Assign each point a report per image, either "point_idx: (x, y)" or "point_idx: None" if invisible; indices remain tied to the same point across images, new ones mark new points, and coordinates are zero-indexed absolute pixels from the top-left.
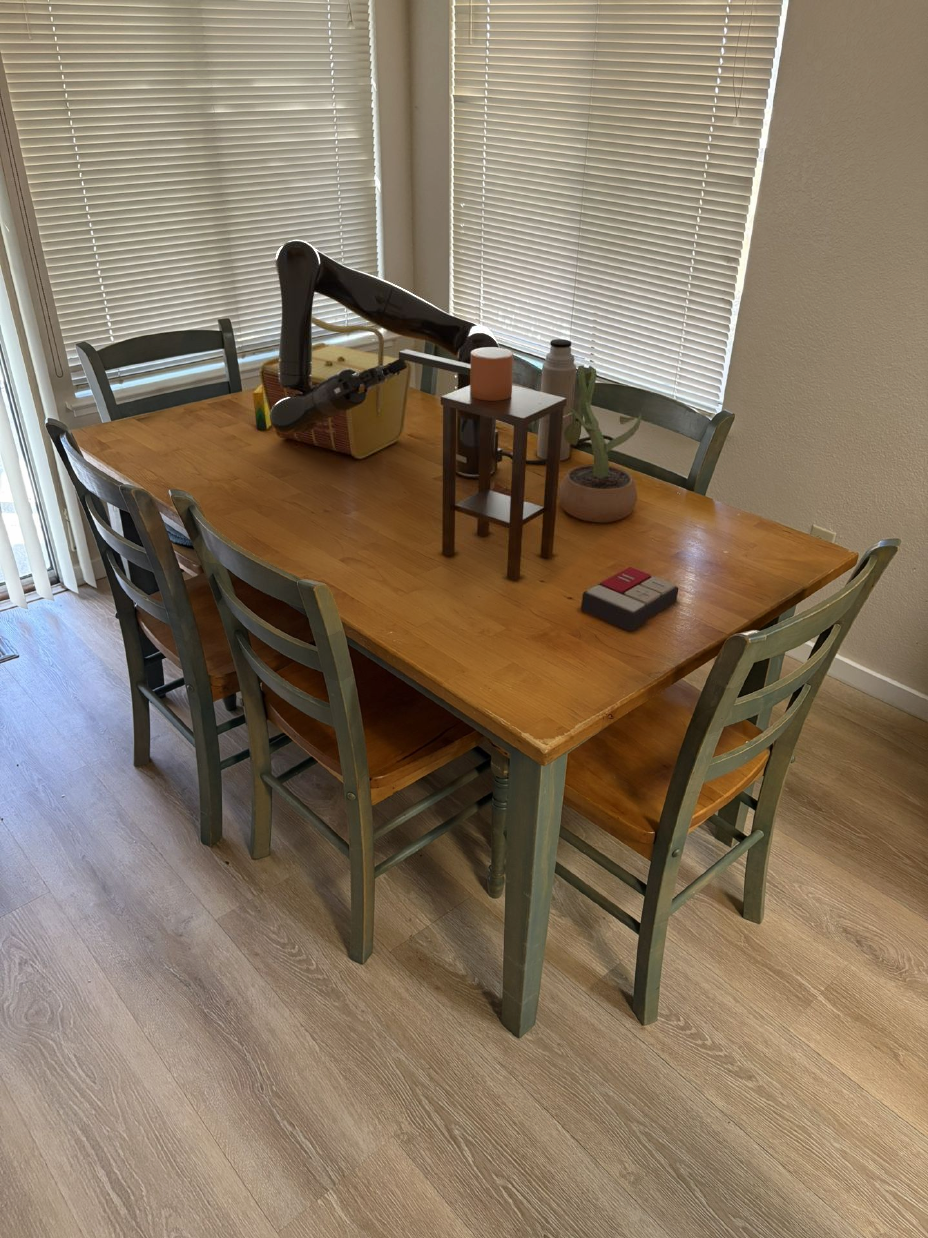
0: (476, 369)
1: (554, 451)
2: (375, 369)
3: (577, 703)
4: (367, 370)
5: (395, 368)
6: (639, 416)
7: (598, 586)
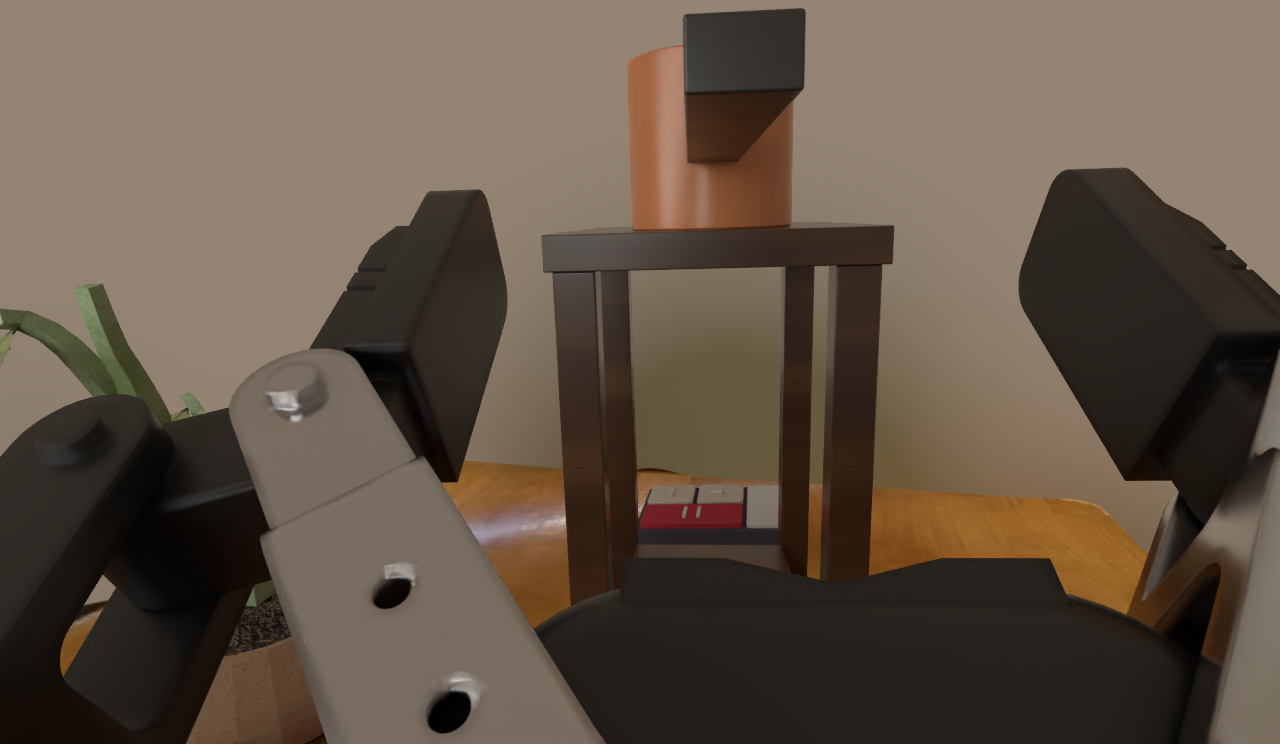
0: (792, 108)
1: (633, 373)
2: (1052, 196)
3: (993, 507)
4: (1169, 220)
5: (462, 369)
6: (195, 400)
7: (753, 522)
